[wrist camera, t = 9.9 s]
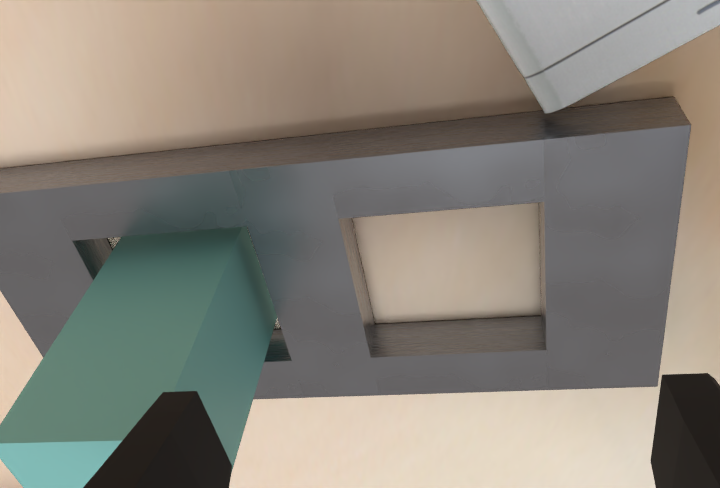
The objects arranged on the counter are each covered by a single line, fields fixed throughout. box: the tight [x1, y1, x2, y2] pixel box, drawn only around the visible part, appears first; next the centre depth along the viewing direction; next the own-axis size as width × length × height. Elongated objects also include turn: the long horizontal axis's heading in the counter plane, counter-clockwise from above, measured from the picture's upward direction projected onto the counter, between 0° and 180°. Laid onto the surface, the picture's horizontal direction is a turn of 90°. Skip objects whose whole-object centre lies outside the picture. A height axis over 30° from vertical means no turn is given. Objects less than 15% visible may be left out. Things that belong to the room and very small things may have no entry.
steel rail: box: [0, 97, 691, 399], centre depth 21 cm, size 20×9×2 cm, turn 100°
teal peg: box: [0, 226, 277, 488], centre depth 19 cm, size 4×4×8 cm
